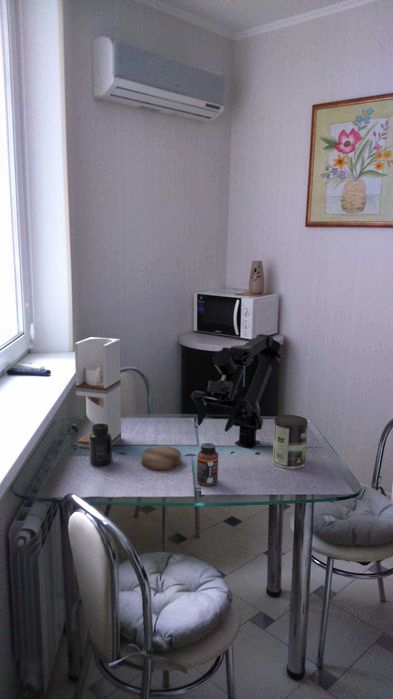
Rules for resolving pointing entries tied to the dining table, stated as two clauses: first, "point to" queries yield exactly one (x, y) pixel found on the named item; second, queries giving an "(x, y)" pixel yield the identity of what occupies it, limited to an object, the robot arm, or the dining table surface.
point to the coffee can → (289, 441)
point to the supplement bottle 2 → (207, 465)
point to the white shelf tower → (100, 383)
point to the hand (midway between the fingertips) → (211, 428)
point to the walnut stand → (161, 458)
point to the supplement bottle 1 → (100, 445)
